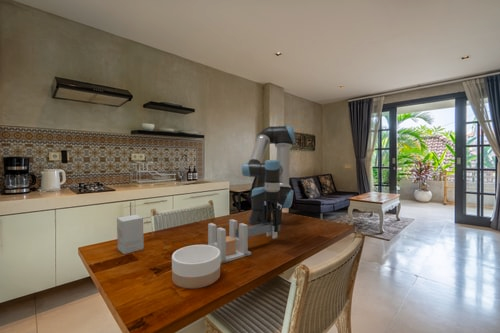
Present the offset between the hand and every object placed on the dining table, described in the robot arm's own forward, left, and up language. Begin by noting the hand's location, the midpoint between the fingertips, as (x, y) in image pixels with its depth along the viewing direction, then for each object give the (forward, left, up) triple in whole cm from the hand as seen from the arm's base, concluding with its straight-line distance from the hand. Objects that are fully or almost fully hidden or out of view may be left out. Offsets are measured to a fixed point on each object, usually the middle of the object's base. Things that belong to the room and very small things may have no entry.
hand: (271, 236), depth 120 cm
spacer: (+23, 0, +1) cm, 23 cm away
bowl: (+44, +9, -3) cm, 45 cm away
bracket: (+26, 0, -3) cm, 26 cm away
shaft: (+8, 0, +3) cm, 9 cm away
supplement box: (+59, -32, -3) cm, 68 cm away
